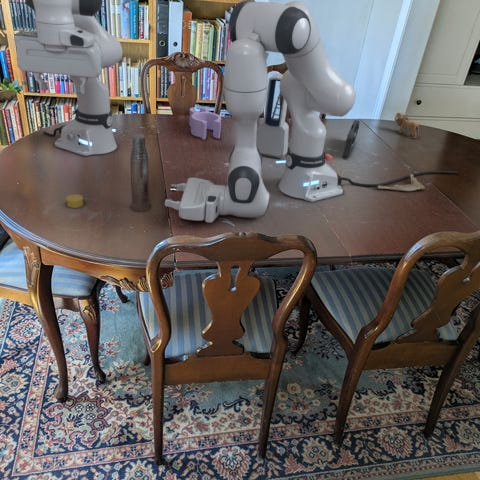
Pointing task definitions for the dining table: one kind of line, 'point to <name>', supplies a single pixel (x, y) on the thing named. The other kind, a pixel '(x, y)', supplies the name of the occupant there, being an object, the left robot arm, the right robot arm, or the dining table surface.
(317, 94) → the right robot arm
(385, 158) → the dining table surface
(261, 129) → the electronic device
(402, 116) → the lion figurine
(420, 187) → the jawbone
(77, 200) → the cap
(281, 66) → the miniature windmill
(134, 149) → the bottle
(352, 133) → the handheld gaming console
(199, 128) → the clip
